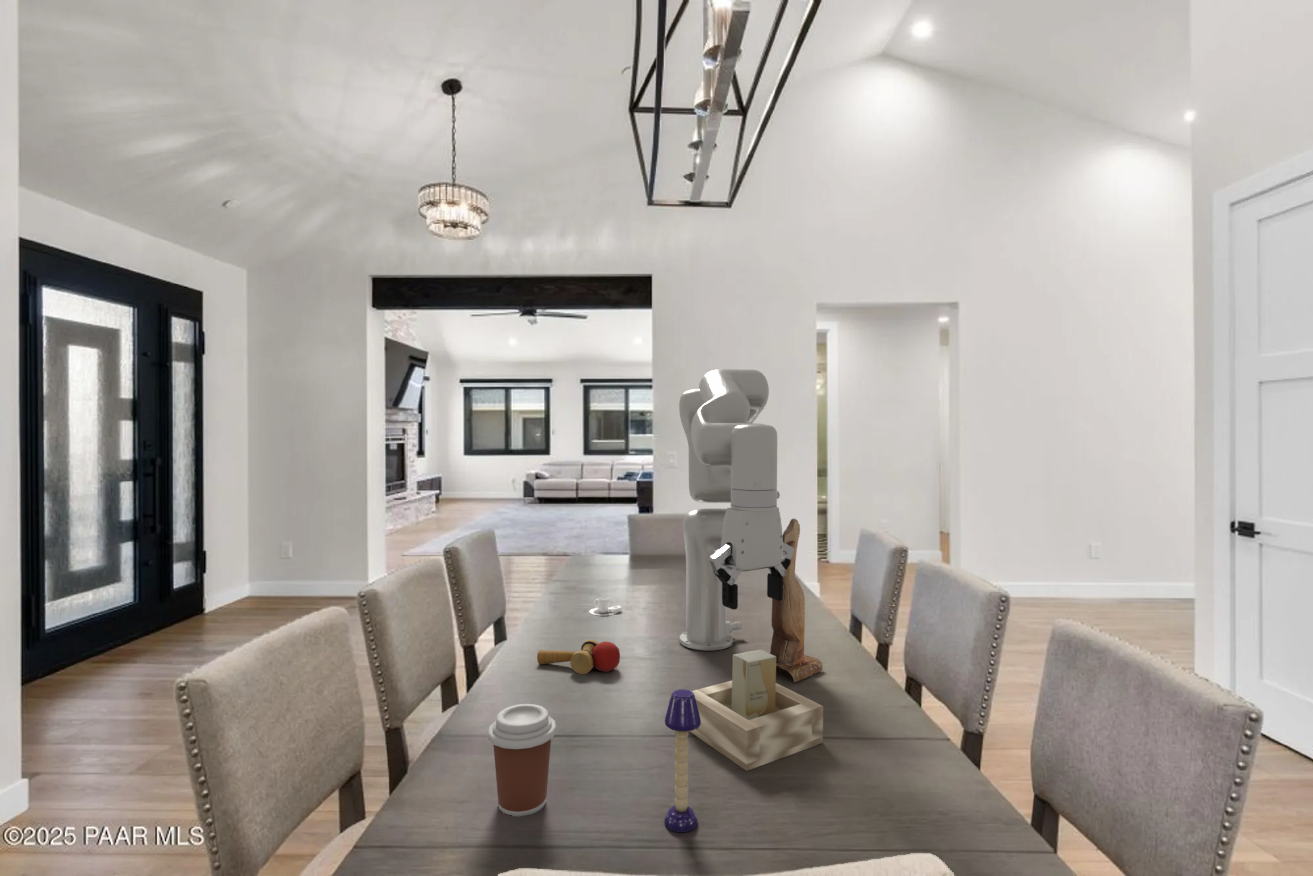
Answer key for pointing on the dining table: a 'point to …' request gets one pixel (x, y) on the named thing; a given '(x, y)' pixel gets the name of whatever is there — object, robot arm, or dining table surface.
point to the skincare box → (753, 684)
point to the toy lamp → (682, 757)
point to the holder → (758, 726)
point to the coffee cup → (522, 757)
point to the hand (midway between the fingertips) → (752, 602)
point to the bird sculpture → (791, 619)
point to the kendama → (585, 657)
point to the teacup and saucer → (605, 607)
